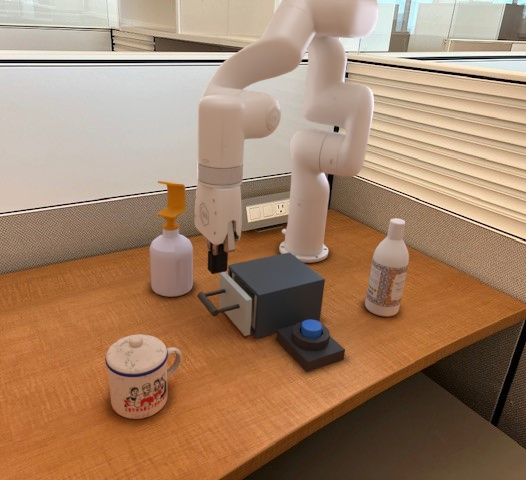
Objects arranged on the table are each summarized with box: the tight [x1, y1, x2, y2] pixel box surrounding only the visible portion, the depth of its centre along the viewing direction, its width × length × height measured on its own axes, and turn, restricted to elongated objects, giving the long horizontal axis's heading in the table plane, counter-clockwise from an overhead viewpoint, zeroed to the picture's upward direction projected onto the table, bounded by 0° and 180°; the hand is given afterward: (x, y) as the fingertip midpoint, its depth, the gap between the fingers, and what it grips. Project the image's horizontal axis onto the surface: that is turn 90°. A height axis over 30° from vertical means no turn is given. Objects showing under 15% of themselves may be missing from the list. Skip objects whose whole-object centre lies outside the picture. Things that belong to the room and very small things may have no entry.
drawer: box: [196, 271, 257, 337], centre depth 93 cm, size 19×11×8 cm, turn 117°
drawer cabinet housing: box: [227, 252, 326, 340], centre depth 96 cm, size 15×13×10 cm
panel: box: [275, 321, 346, 373], centre depth 87 cm, size 10×8×4 cm
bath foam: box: [364, 217, 410, 317], centre depth 97 cm, size 7×7×20 cm
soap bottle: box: [149, 180, 194, 298], centre depth 101 cm, size 9×9×25 cm
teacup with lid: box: [104, 333, 183, 420], centre depth 73 cm, size 12×9×12 cm
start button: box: [301, 319, 322, 339], centre depth 86 cm, size 4×4×2 cm
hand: (217, 270), depth 87 cm, fingers closed
